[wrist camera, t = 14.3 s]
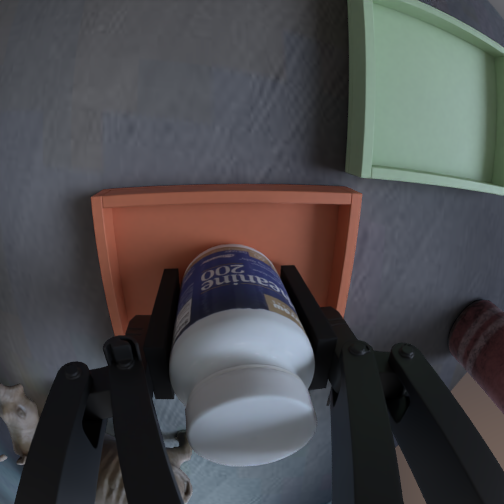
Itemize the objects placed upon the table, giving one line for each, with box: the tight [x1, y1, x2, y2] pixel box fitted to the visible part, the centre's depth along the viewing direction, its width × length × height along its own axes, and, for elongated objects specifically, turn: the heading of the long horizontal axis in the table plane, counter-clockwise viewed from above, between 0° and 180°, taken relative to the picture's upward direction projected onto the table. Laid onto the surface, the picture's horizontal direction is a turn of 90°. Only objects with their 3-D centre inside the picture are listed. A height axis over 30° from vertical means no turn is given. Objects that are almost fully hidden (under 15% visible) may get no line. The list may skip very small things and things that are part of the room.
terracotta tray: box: [91, 184, 362, 336], centre depth 17 cm, size 13×11×2 cm
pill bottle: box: [169, 244, 317, 466], centre depth 12 cm, size 5×5×10 cm
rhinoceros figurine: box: [0, 383, 193, 504], centre depth 17 cm, size 8×14×15 cm
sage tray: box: [345, 0, 504, 196], centre depth 14 cm, size 13×11×2 cm
